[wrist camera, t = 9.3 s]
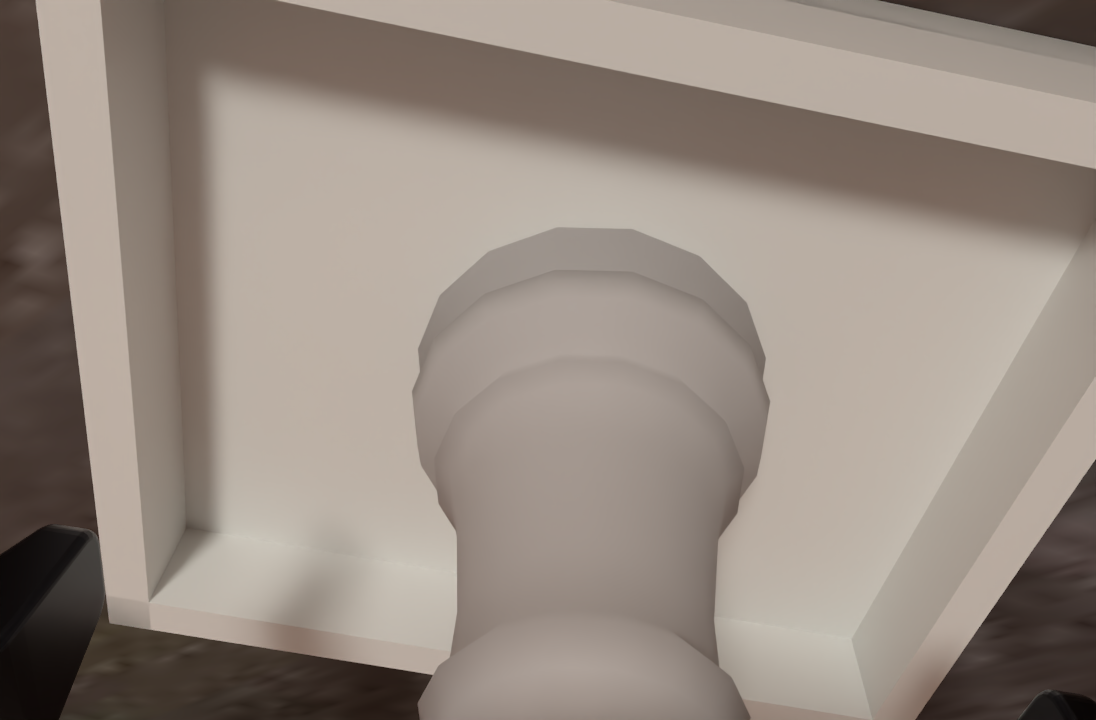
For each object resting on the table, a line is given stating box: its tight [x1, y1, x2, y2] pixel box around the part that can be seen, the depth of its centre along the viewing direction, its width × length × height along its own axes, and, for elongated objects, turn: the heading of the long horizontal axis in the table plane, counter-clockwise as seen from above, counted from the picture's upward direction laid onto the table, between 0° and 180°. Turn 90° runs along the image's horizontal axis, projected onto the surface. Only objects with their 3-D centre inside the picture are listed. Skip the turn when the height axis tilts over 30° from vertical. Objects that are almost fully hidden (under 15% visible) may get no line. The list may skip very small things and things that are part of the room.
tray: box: [36, 0, 1096, 720], centre depth 12 cm, size 12×10×2 cm
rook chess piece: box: [412, 227, 770, 720], centre depth 9 cm, size 4×4×8 cm
